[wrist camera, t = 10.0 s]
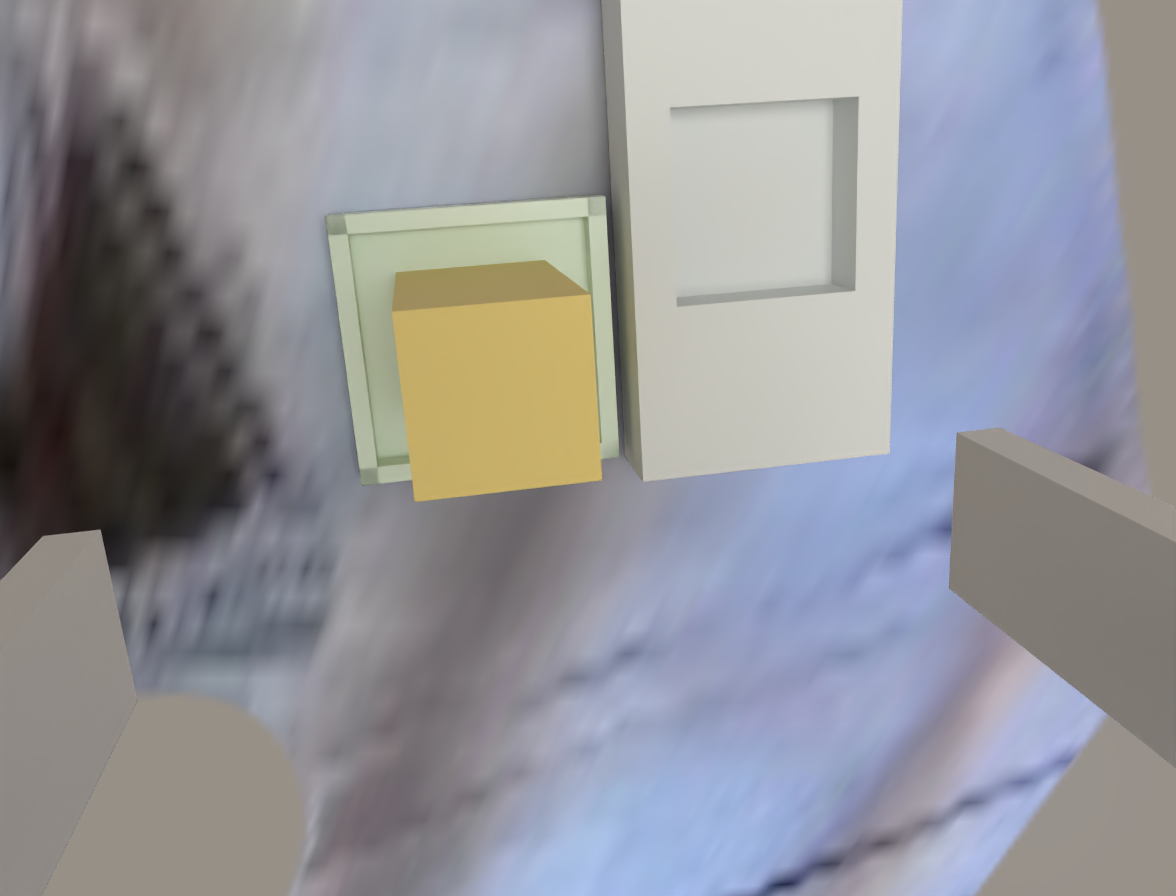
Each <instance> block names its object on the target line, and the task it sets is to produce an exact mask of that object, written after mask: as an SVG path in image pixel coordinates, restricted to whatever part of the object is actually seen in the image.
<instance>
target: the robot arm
mask: <svg viewBox="0 0 1176 896" xmlns="http://www.w3.org/2000/svg"><path fill="white" fill-rule="evenodd" d="M949 589H950V590H952V591H953V592H954V593H956V594H957V595H958V596H959V597H961V598H962V599H963V600H964V601H966V602H967V603H968V604H969V605H971V606H972V607H973V608H974V609H976V610H977V611H978V612H979V613H981V614H982V615H983V616H985V617H986V618H987V619H988V620H990V621H991V622H992V623H993V624H995V625H996V626H997V627H998V628H1000V629H1001V630H1002V631H1003V632H1005V633H1006V634H1007V635H1009V636H1010V637H1011V638H1012V639H1014V640H1015V641H1016V642H1017V643H1019V644H1020V645H1021V646H1022V647H1024V648H1025V649H1026V650H1027V651H1029V652H1030V653H1031V654H1032V655H1034V656H1035V657H1036V658H1038V659H1039V660H1040V661H1041V662H1043V663H1044V664H1045V665H1046V666H1048V667H1049V668H1050V669H1051V670H1053V671H1054V672H1055V673H1056V674H1058V675H1059V676H1060V677H1061V678H1063V679H1064V680H1065V681H1067V682H1068V683H1069V684H1070V685H1072V686H1073V687H1074V688H1075V689H1077V690H1078V691H1079V692H1080V693H1082V694H1083V695H1084V696H1085V697H1087V698H1088V699H1089V700H1091V701H1092V702H1093V703H1094V704H1096V705H1097V706H1098V707H1099V708H1101V709H1102V710H1103V711H1104V712H1106V713H1107V714H1108V715H1109V716H1111V717H1112V718H1113V719H1114V720H1116V721H1117V722H1118V723H1120V724H1121V725H1122V726H1123V727H1125V728H1126V729H1127V730H1129V731H1130V732H1131V733H1132V734H1133V735H1135V736H1136V737H1137V738H1138V739H1140V740H1141V741H1142V742H1144V743H1145V744H1146V745H1147V746H1149V747H1150V748H1151V749H1153V750H1154V751H1155V752H1156V753H1157V754H1159V755H1160V756H1161V757H1162V758H1164V759H1165V760H1166V761H1167V762H1169V763H1170V764H1171V765H1173V766H1174V767H1175V768H1176V507H1173V506H1171V505H1169V504H1167V503H1165V502H1162V501H1160V500H1158V499H1156V498H1154V497H1151V496H1149V495H1147V494H1145V493H1143V492H1140V491H1138V490H1136V489H1134V488H1132V487H1129V486H1127V485H1125V484H1123V483H1121V482H1118V481H1116V480H1114V479H1112V478H1110V477H1107V476H1105V475H1103V474H1101V473H1099V472H1096V471H1094V470H1092V469H1090V468H1088V467H1085V466H1083V465H1081V464H1079V463H1077V462H1074V461H1072V460H1070V459H1068V458H1066V457H1063V456H1061V455H1059V454H1057V453H1055V452H1052V451H1050V450H1048V449H1046V448H1044V447H1041V446H1039V445H1037V444H1035V443H1033V442H1030V441H1028V440H1026V439H1024V438H1022V437H1019V436H1017V435H1015V434H1013V433H1011V432H1008V431H1006V430H1004V429H1002V428H994V429H985V430H976V431H967V432H958V433H957V437H956V457H955V476H954V496H953V516H952V536H951V555H950V575H949ZM137 701H138V700H137V695H136V691H135V686H134V682H133V677H132V672H131V668H130V663H129V659H128V654H127V649H126V645H125V640H124V636H123V631H122V626H121V622H120V617H119V613H118V608H117V604H116V599H115V594H114V590H113V585H112V581H111V576H110V571H109V567H108V562H107V558H106V553H105V549H104V544H103V539H102V535H101V530H93V531H85V532H76V533H67V534H58V535H49V536H43V537H42V538H41V539H40V540H39V541H38V542H37V543H36V544H35V545H34V546H33V547H32V548H31V549H30V550H29V551H28V552H27V553H26V555H25V556H24V557H23V558H22V559H21V560H20V561H19V562H18V563H17V564H16V565H15V566H14V567H13V568H12V569H11V570H10V571H9V572H8V573H7V574H6V576H5V577H4V578H3V579H2V580H1V581H0V896H42V894H43V892H44V890H45V888H46V886H47V884H48V882H49V880H50V878H51V876H52V874H53V872H54V870H55V868H56V866H57V864H58V861H59V860H60V858H61V856H62V854H63V852H64V849H65V847H66V846H67V843H68V841H69V839H70V837H71V835H72V833H73V831H74V829H75V827H76V825H77V823H78V821H79V819H80V817H81V815H82V813H83V811H84V809H85V807H86V805H87V803H88V801H89V799H90V797H91V794H92V792H93V791H94V788H95V786H96V784H97V782H98V780H99V778H100V776H101V774H102V772H103V770H104V768H105V766H106V764H107V762H108V760H109V758H110V756H111V754H112V752H113V750H114V748H115V746H116V743H117V742H118V739H119V737H120V735H121V733H122V731H123V729H124V727H125V725H126V723H127V721H128V719H129V717H130V715H131V713H132V711H133V709H134V707H135V705H136V703H137Z"/></svg>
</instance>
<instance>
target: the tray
mask: <svg viewBox="0 0 1176 896" xmlns="http://www.w3.org/2000/svg"><path fill="white" fill-rule="evenodd" d="M325 217H326V225H327V232H328V239H329V247H330V254H331V262H332V269H333V277H334V284H335V291H336V299H337V306H338V314H339V321H340V328H341V336H342V343H343V351H344V358H345V366H346V373H347V380H348V388H349V395H350V403H351V410H352V417H353V425H354V432H355V440H356V447H357V455H358V462H359V469H360V477H361V484H362V486H363V485H372V484H381V483H390V482H399V481H408V480H412V475H411V467H410V459H409V451H408V442H407V434H406V426H405V418H404V409H403V401H402V393H401V385H400V376H399V368H398V360H397V352H396V343H395V335H394V327H393V319H392V305H393V295H394V286H395V277H396V272H405V271H417V270H429V269H441V268H453V267H465V266H477V265H489V264H502V263H514V262H526V261H538V260H545V261H547V262H548V263H549V264H551V265H552V266H554V267H555V268H556V269H558V270H559V271H560V272H562V273H563V274H564V275H566V276H567V277H568V278H570V279H571V280H572V281H574V282H575V283H576V284H578V285H579V286H580V287H582V288H583V289H584V290H586V291H587V292H588V293H590V294H591V308H592V324H593V340H594V356H595V372H596V388H597V404H598V420H599V436H600V452H601V459H606V458H615V457H619V440H618V422H617V403H616V385H615V367H614V348H613V330H612V312H611V293H610V275H609V256H608V238H607V220H606V201H605V196H601V195H586V196H572V197H558V198H544V199H530V200H516V201H502V202H488V203H474V204H460V205H446V206H432V207H418V208H404V209H390V210H376V211H362V212H348V213H333V214H328V215H327V216H325Z"/></svg>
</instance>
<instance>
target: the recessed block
mask: <svg viewBox="0 0 1176 896" xmlns="http://www.w3.org/2000/svg"><path fill="white" fill-rule="evenodd" d="M902 3H903V0H601V7H602V26H603V45H604V64H605V83H606V102H607V121H608V140H609V159H610V178H611V197H612V216H613V235H614V254H615V273H616V292H617V311H618V330H619V349H620V368H621V387H622V406H623V425H624V444H625V457H626V459H627V460H628V462H629V463H630V464H631V466H632V467H633V468H634V470H635V471H636V473H637V474H638V475H639V477H640V478H641V479H642V481H643V482H646V481H655V480H663V479H672V478H681V477H690V476H698V475H707V474H716V473H724V472H733V471H742V470H750V469H759V468H768V467H776V466H785V465H794V464H802V463H811V462H820V461H828V460H837V459H846V458H854V457H863V456H872V455H881V454H889V453H890V422H891V387H892V352H893V317H894V282H895V247H896V212H897V177H898V142H899V107H900V72H901V37H902Z"/></svg>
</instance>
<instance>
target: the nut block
mask: <svg viewBox="0 0 1176 896" xmlns="http://www.w3.org/2000/svg"><path fill="white" fill-rule="evenodd" d="M392 319H393V327H394V335H395V343H396V352H397V360H398V368H399V376H400V385H401V393H402V401H403V409H404V418H405V426H406V434H407V442H408V451H409V459H410V467H411V475H412V484H413V492H414V500H415V502H419V501H428V500H436V499H445V498H453V497H462V496H471V495H479V494H488V493H496V492H505V491H514V490H522V489H531V488H539V487H548V486H557V485H565V484H574V483H582V482H591V481H600V480H602V468H601V452H600V436H599V420H598V404H597V388H596V372H595V356H594V340H593V324H592V308H591V294H590V293H588V292H587V291H586V290H584V289H583V288H582V287H580V286H579V285H578V284H576V283H575V282H574V281H572V280H571V279H570V278H568V277H567V276H566V275H564V274H563V273H562V272H560V271H559V270H558V269H556V268H555V267H554V266H552V265H551V264H549V263H548V262H547V261H545V260H538V261H526V262H514V263H502V264H489V265H477V266H465V267H453V268H441V269H429V270H417V271H405V272H396V277H395V286H394V295H393V305H392Z"/></svg>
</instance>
